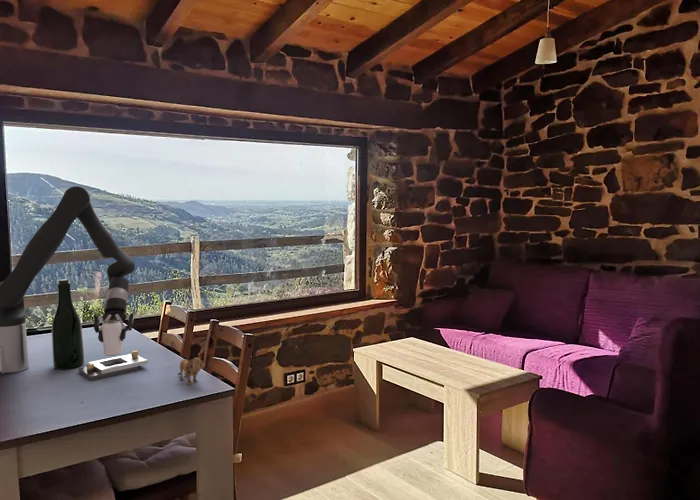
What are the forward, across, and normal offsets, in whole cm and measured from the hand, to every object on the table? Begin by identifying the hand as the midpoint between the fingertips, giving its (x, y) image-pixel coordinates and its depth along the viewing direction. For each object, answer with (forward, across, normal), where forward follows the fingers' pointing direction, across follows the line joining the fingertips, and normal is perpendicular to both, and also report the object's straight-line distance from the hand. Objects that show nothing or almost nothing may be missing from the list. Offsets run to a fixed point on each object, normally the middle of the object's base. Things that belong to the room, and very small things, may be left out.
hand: (111, 340), depth 198 cm
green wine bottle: (0, -18, +16) cm, 24 cm away
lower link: (+8, -2, +8) cm, 12 cm away
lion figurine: (+21, +29, -4) cm, 36 cm away
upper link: (+5, +1, +9) cm, 10 cm away
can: (+3, 0, +5) cm, 6 cm away
